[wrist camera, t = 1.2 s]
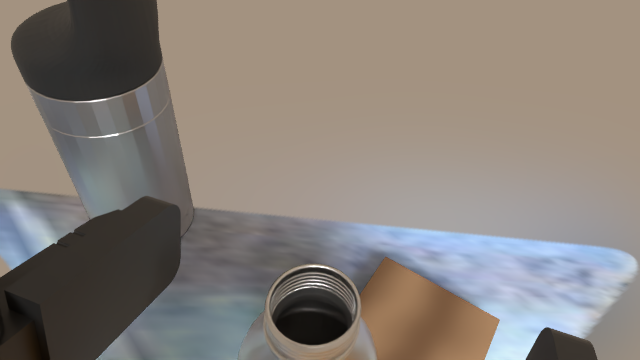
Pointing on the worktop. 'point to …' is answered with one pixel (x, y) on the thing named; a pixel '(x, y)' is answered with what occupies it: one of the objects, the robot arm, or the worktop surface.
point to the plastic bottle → (310, 319)
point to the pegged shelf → (422, 318)
